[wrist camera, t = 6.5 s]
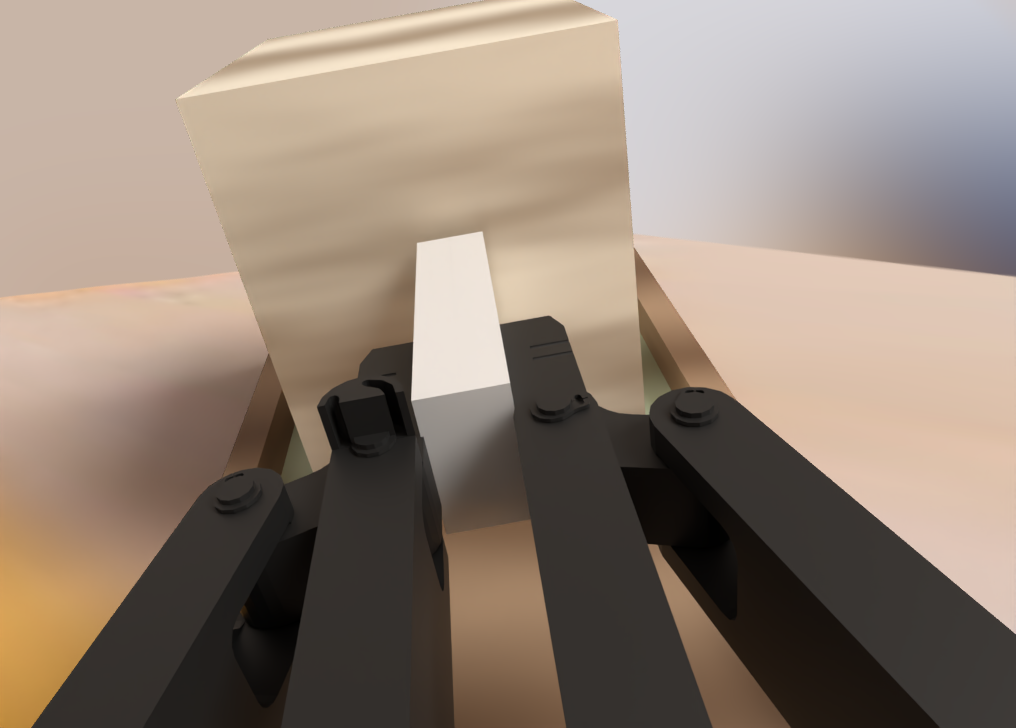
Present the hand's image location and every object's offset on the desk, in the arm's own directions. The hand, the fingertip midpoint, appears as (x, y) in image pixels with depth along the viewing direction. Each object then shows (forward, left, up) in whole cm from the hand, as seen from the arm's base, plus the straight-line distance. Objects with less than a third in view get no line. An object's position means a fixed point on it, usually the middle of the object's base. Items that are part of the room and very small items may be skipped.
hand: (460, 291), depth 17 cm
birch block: (-5, +1, -7) cm, 9 cm away
